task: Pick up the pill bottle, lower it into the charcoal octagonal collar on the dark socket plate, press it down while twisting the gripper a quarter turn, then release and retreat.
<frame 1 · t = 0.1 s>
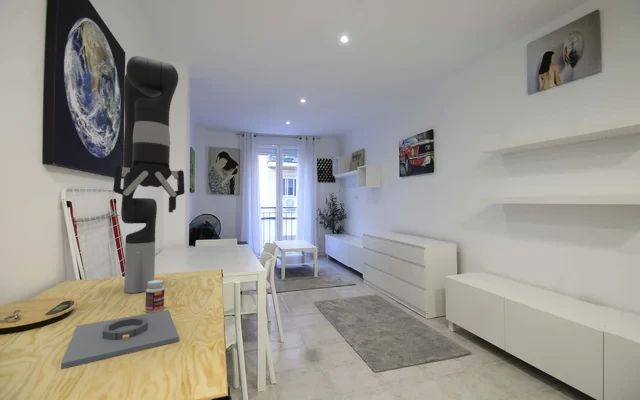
hand: (150, 212, 67), 29 cm above the table, fingers open, 8 cm apart
socket: (125, 335, 67), on the table
pill bottle: (154, 310, 83), on the table
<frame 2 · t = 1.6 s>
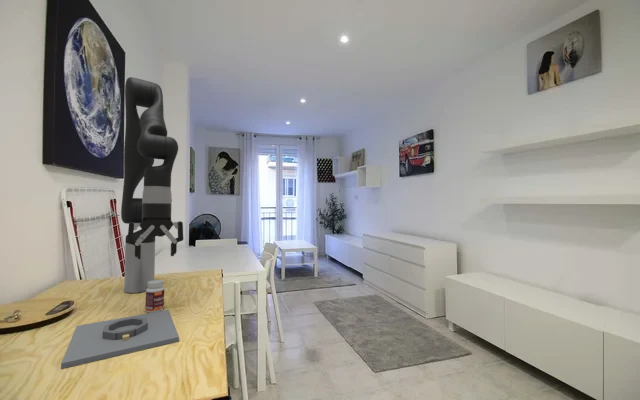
hand: (156, 257, 84), 15 cm above the table, fingers open, 8 cm apart
nothing on the table moved.
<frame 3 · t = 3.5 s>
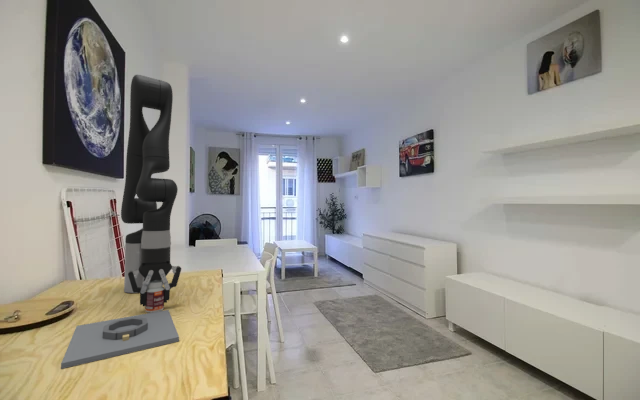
hand: (154, 303, 83), 2 cm above the table, fingers closed on pill bottle, 4 cm apart
pill bottle: (154, 310, 83), on the table, touching gripper
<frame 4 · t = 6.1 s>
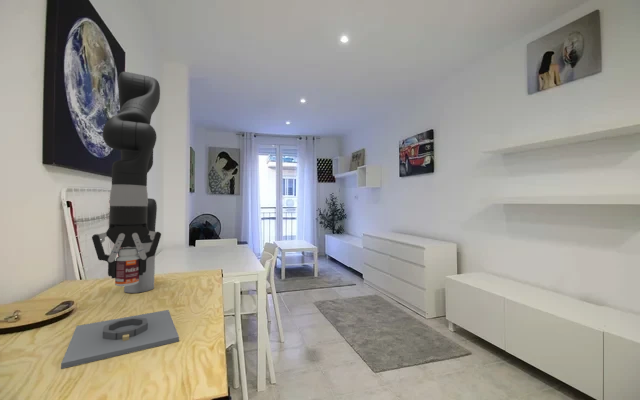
hand: (127, 275, 67), 14 cm above the table, fingers closed on pill bottle, 4 cm apart
pill bottle: (127, 284, 67), point 12 cm above the table, touching gripper
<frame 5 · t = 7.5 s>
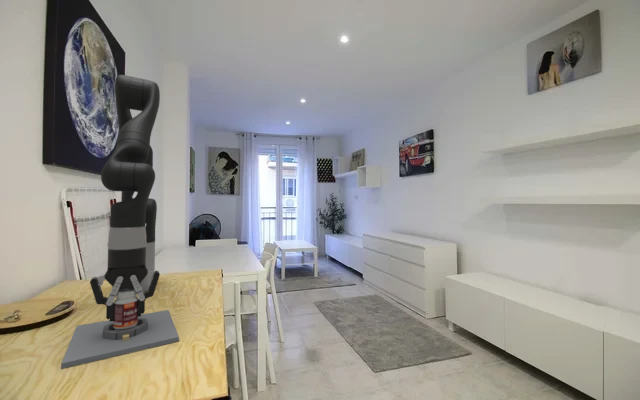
hand: (125, 317, 67), 4 cm above the table, fingers closed on pill bottle, 4 cm apart
pill bottle: (125, 326, 67), point 2 cm above the table, touching gripper
when the fingers open (3 cm above the table, at t = 8.9 s): pill bottle stays where it is, resting on socket.
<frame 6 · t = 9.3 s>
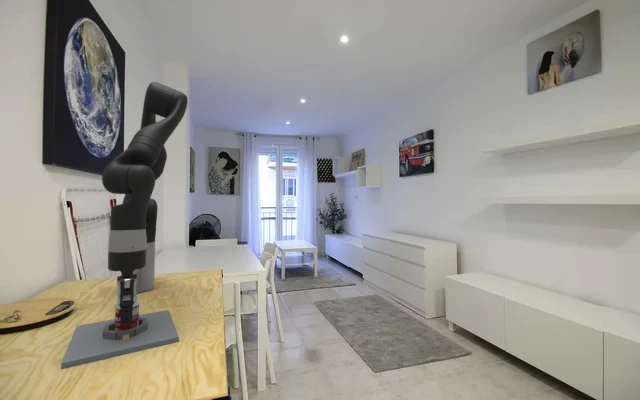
hand: (126, 317, 67), 4 cm above the table, fingers open, 8 cm apart
pill bottle: (126, 331, 67), point 1 cm above the table, touching socket
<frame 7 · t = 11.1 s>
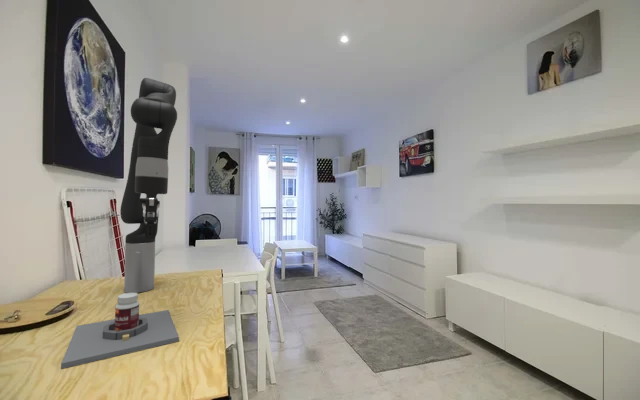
hand: (149, 236, 76), 22 cm above the table, fingers open, 8 cm apart
nothing on the table moved.
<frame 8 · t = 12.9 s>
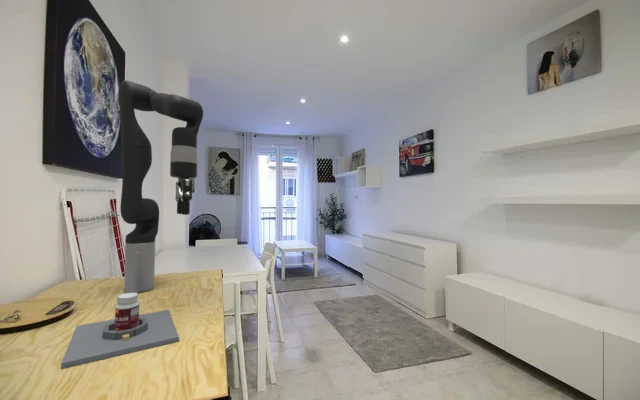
hand: (182, 214, 88), 28 cm above the table, fingers open, 8 cm apart
nothing on the table moved.
at the end: pill bottle 0.2 cm from the socket (horizontally); pill bottle tilted 0°; the gripper is holding nothing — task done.
